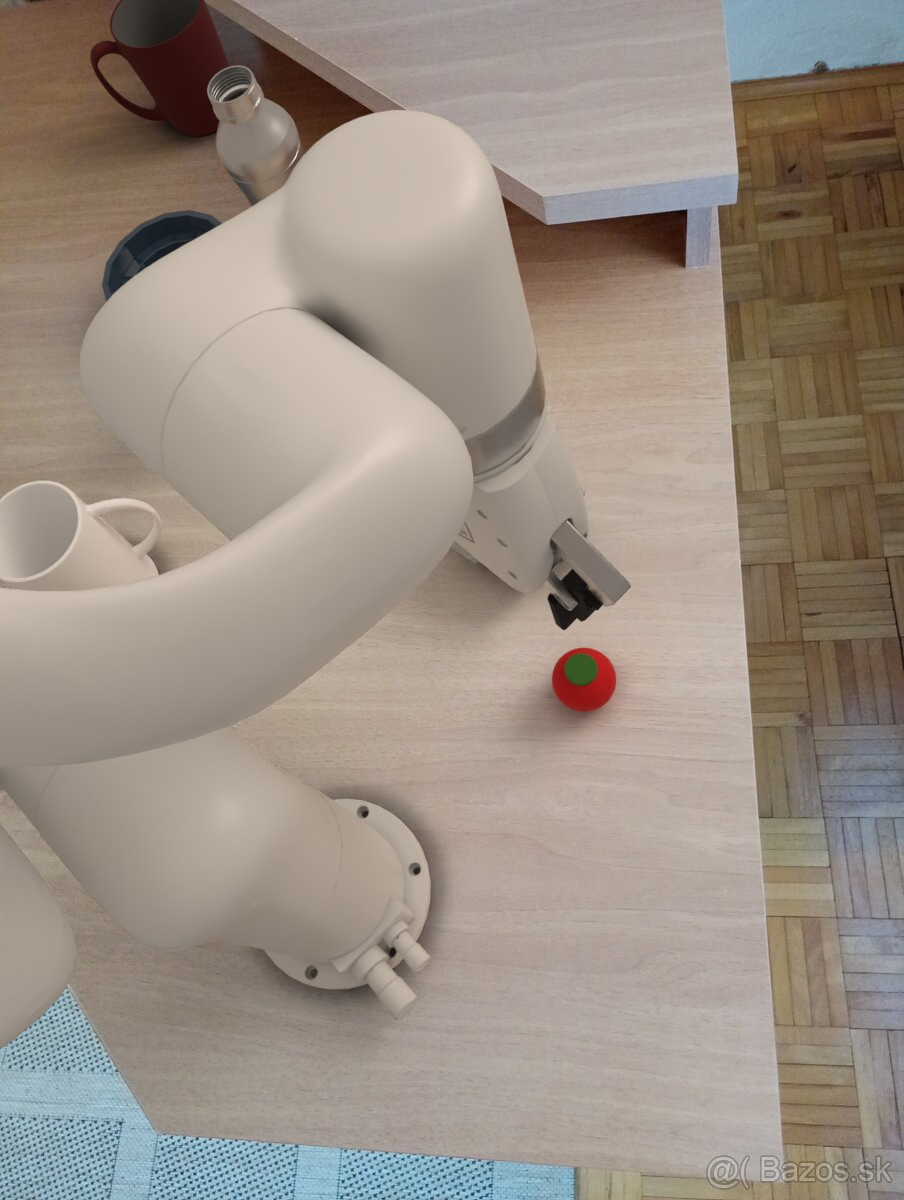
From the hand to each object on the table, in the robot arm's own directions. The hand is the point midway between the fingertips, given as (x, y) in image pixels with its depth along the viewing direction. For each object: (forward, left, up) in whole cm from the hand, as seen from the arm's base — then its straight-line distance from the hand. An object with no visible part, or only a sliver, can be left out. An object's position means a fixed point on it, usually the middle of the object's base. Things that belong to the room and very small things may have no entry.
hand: (516, 556), depth 60 cm
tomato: (-3, 0, -18) cm, 19 cm away
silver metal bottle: (+42, -12, -19) cm, 47 cm away
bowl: (+49, -2, -18) cm, 52 cm away
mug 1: (+30, +19, -19) cm, 40 cm away
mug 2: (+67, -16, -19) cm, 71 cm away
